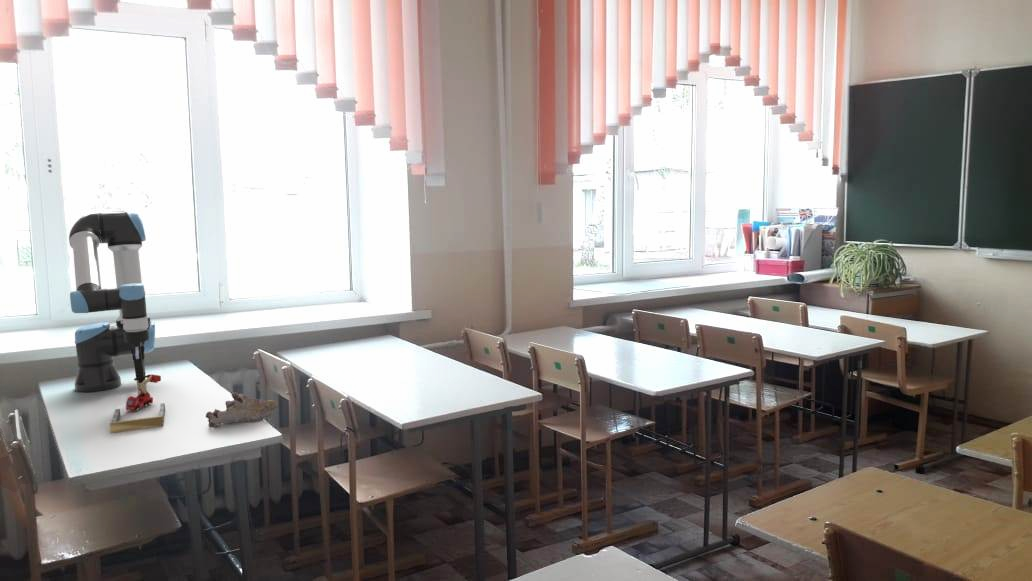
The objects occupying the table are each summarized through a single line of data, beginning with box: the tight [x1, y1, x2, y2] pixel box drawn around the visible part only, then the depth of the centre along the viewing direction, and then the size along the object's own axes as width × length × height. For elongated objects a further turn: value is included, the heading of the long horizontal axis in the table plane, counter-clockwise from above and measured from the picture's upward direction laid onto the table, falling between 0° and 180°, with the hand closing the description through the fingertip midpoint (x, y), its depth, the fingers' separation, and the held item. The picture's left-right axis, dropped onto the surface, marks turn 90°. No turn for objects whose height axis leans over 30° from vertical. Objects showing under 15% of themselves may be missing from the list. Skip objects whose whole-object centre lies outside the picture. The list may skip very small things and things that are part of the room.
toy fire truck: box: [125, 374, 162, 412], centre depth 258 cm, size 3×14×10 cm, turn 169°
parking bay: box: [109, 402, 166, 434], centre depth 243 cm, size 18×14×3 cm
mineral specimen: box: [205, 391, 278, 429], centre depth 240 cm, size 20×10×10 cm
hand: (142, 397), depth 262 cm, fingers closed
